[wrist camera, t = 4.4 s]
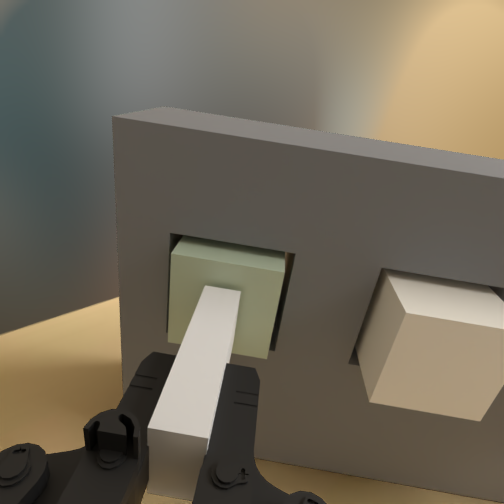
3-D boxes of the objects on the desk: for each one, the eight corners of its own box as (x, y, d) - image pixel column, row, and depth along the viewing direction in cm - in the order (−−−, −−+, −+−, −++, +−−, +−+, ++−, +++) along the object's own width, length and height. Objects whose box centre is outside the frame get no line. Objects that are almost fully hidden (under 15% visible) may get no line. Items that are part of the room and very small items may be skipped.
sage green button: (271, 293, 21) (285, 222, 19) (266, 359, 16) (284, 272, 14) (196, 280, 21) (201, 208, 19) (167, 342, 16) (170, 253, 14)
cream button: (430, 334, 19) (465, 262, 17) (479, 421, 14) (535, 334, 12) (348, 320, 19) (372, 247, 17) (369, 402, 14) (406, 312, 12)
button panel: (531, 427, 26) (708, 192, 18) (596, 519, 20) (893, 240, 12) (158, 362, 26) (164, 106, 18) (124, 434, 21) (112, 116, 13)
